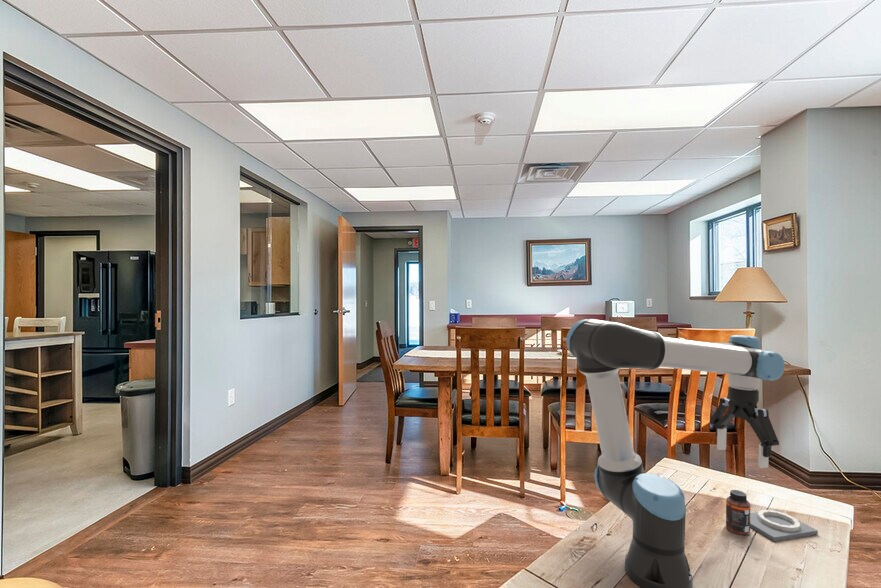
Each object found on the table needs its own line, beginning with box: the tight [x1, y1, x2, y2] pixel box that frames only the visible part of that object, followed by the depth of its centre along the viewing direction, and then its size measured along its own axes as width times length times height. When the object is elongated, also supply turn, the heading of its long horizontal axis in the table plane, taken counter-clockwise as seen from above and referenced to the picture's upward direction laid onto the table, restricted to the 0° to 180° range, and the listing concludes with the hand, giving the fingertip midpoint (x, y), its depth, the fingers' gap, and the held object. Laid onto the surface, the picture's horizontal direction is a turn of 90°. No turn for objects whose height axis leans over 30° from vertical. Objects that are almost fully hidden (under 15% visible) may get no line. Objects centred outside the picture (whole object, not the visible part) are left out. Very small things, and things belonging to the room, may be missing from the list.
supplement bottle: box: [725, 489, 751, 536], centre depth 127 cm, size 6×6×11 cm
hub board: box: [750, 509, 819, 543], centre depth 129 cm, size 16×12×2 cm
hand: (741, 458), depth 127 cm, fingers open, 13 cm apart
